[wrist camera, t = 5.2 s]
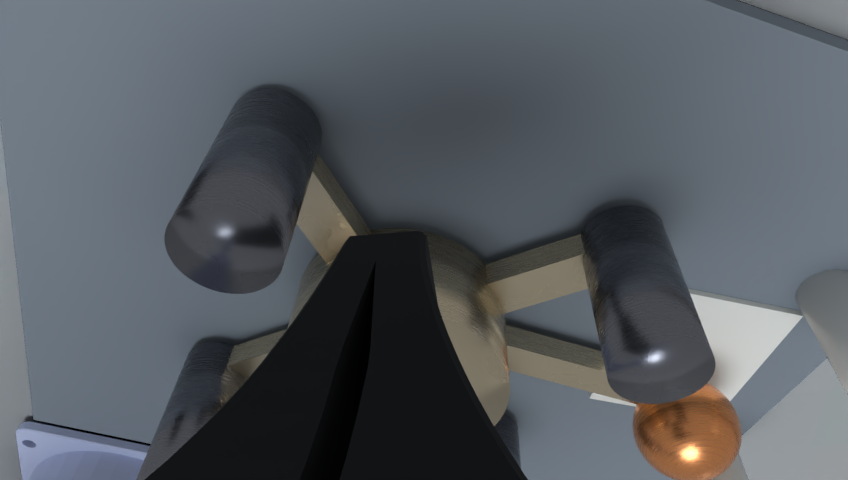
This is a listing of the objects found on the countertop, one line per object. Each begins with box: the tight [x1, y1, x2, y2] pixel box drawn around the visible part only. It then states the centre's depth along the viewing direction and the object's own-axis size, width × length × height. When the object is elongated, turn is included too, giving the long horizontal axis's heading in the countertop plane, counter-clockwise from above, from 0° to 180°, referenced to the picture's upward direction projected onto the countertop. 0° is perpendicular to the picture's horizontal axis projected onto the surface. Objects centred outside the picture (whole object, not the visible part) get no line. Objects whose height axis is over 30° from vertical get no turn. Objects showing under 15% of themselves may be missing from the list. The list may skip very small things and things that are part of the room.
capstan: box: [136, 88, 742, 480], centre depth 18 cm, size 16×16×4 cm
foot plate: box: [0, 0, 848, 480], centre depth 20 cm, size 21×24×1 cm
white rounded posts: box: [588, 269, 848, 480], centre depth 19 cm, size 9×6×5 cm
